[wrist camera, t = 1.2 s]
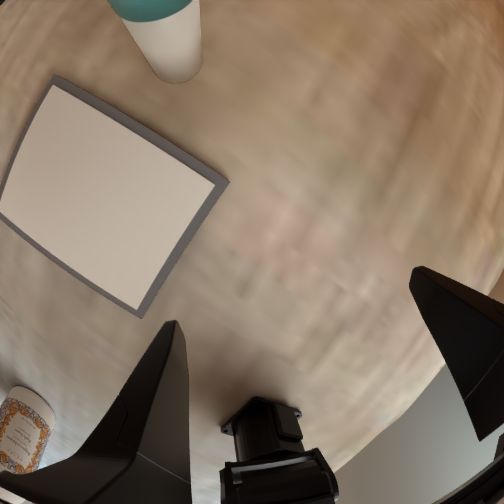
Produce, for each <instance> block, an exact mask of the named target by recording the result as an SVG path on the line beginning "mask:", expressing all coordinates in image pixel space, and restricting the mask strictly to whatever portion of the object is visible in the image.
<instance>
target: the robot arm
mask: <svg viewBox="0 0 504 504" xmlns="http://www.w3.org/2000/svg"><path fill="white" fill-rule="evenodd" d="M409 289H410V291H411V293H412V296H413V298H414V300H415V302H416V304H417V306H418V309H419V311H420V313H421V315H422V318H423V320H424V322H425V324H426V325H427V327H428V329H429V331H430V333H431V335H432V336H433V338H434V340H435V342H436V344H437V346H438V348H439V350H440V352H441V354H442V356H443V358H444V360H445V362H446V364H447V366H448V368H449V370H450V372H451V374H452V376H453V378H454V380H455V383H456V385H457V387H458V389H459V391H460V394H461V396H462V399H463V401H464V404H465V406H466V408H467V411H468V413H469V416H470V419H471V421H472V424H473V426H474V429H475V432H476V434H477V437H478V440H479V441H480V442H481V441H482V440H483V439H485V438H486V437H487V436H489V435H490V434H491V433H492V432H494V431H495V430H496V429H497V428H499V427H500V426H501V425H502V424H503V423H504V304H502V303H500V302H498V301H496V300H494V299H491V298H490V297H488V296H486V295H484V294H482V293H480V292H478V291H476V290H474V289H472V288H470V287H468V286H466V285H463V284H461V283H459V282H457V281H455V280H453V279H451V278H449V277H446V276H444V275H442V274H440V273H438V272H435V271H433V270H431V269H429V268H427V267H424V266H418V267H415V268H414V269H413V270H412V274H411V278H410V282H409ZM256 401H257V402H256ZM301 417H302V413H301V411H299V410H295V409H292V408H289V407H286V406H283V405H280V404H277V403H274V402H271V401H268V400H265V399H262V398H259V397H254V398H252V399H251V400H250V401H249V402H248V403H247V404H246V405H245V406H244V407H243V408H241V409H240V410H239V411H238V412H237V413H236V414H235V415H234V416H233V417H232V418H231V419H230V420H229V421H228V422H227V423H225V424H224V425H223V426H222V427H221V432H222V433H224V434H227V435H231V436H233V437H234V444H235V452H236V459H237V462H225V468H224V469H222V470H220V471H219V472H220V483H221V504H335V502H336V501H337V500H338V496H339V491H338V485H337V481H336V478H335V475H334V473H333V471H332V470H331V468H330V467H329V465H328V463H327V462H326V460H325V459H324V457H323V455H322V454H321V452H320V450H319V449H318V448H314V449H312V450H309V451H305V450H304V447H303V444H302V441H301V440H302V439H303V435H302V432H301V429H300V426H299V424H298V421H297V420H298V419H299V418H301ZM190 483H191V476H190V450H189V374H188V364H187V354H186V343H185V337H184V334H183V332H182V330H181V327H180V325H179V323H178V321H177V320H172V321H166V322H165V323H164V324H163V326H162V327H161V329H160V330H159V332H158V333H157V335H156V336H155V338H154V339H153V341H152V343H151V344H150V346H149V347H148V349H147V350H146V352H145V353H144V355H143V356H142V358H141V360H140V361H139V363H138V364H137V366H136V367H135V369H134V370H133V372H132V374H131V375H130V377H129V378H128V380H127V382H126V383H125V385H124V386H123V388H122V389H121V391H120V393H119V395H118V396H117V397H116V399H115V401H114V402H113V404H112V405H111V407H110V408H109V410H108V411H107V413H106V414H105V416H104V417H103V419H102V420H101V421H100V423H99V424H98V425H97V427H96V428H95V429H94V431H93V432H92V433H91V434H90V436H89V437H88V438H87V440H86V441H85V442H84V444H83V445H82V446H81V447H80V449H79V450H78V451H77V452H76V453H75V454H73V455H72V456H71V457H69V458H67V459H65V460H62V461H60V462H57V463H55V464H52V465H49V466H47V467H44V468H41V469H39V470H36V471H33V472H30V473H26V474H14V473H12V472H9V471H7V470H3V471H1V472H0V487H1V488H3V489H5V490H7V491H9V492H11V493H13V494H15V495H17V496H19V497H21V498H23V499H26V500H28V501H30V502H32V503H33V504H192V493H191V484H190ZM0 504H12V503H10V502H8V501H6V500H4V499H1V498H0ZM432 504H504V433H503V434H502V435H501V436H499V440H498V445H497V449H496V453H495V457H494V461H493V462H492V463H490V464H489V465H488V466H487V467H485V468H484V469H483V470H482V471H480V472H479V473H478V474H476V475H475V476H474V477H472V478H471V479H470V480H468V481H467V482H465V483H464V484H462V485H461V486H459V487H458V488H456V489H455V490H453V491H452V492H450V493H449V494H447V495H446V496H444V497H442V498H441V499H439V500H437V501H436V502H434V503H432Z"/></svg>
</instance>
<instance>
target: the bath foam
mask: <svg viewBox="0 0 504 504" xmlns="http://www.w3.org/2000/svg"><path fill="white" fill-rule="evenodd" d="M54 424H55V415H54V413H53V411H52V409H51V408H50V406H49V405H48V404H47V403H46V402H45V401H44V400H43V399H42V398H41V397H40V396H38V395H37V394H36V393H34V392H32V391H31V390H29V389H27V388H24V387H20V386H16V387H13V388H12V389H11V391H10V392H9V394H8V395H7V397H6V399H5V400H4V402H3V403H2V405H1V407H0V472H1V471H3V470H7V471H9V472H12V473H14V474H26V473H30V472H33V471H36V470H38V467H39V464H40V461H41V458H42V455H43V453H44V450H45V447H46V445H47V442H48V439H49V437H50V434H51V431H52V429H53V426H54ZM0 498H1V499H4V500H6V501H8V502H10V503H12V504H21V503H22V502H24V501H25V500H26V499H23V498H21V497H19V496H17V495H15V494H13V493H11V492H9V491H7V490H5V489H3V488H1V487H0Z"/></svg>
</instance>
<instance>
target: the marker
mask: <svg viewBox="0 0 504 504" xmlns="http://www.w3.org/2000/svg"><path fill="white" fill-rule="evenodd" d="M107 1H108V2H109V4H110V5H111V7H112V8H113V10H114V11H115V13H116V14H117V15H118V16H119V17H120V18H121V20H122V21H123V23H124V24H125V26H126V28H127V29H128V31H129V32H130V34H131V35H132V37H133V39H134V40H135V42H136V43H137V45H138V47H139V48H140V50H141V51H142V53H143V54H144V56H145V58H146V59H147V61H148V62H149V64H150V66H151V67H152V69H153V70H154V72H155V74H156V75H157V76H158V77H159V78H160V79H161V80H163V81H165V82H167V83H182V82H185V81H187V80H189V79H191V78H192V77H194V76H195V75H196V74H197V73H198V71H199V70H200V68H201V65H202V45H201V27H200V5H199V0H107Z"/></svg>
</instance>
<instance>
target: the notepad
mask: <svg viewBox="0 0 504 504" xmlns="http://www.w3.org/2000/svg"><path fill="white" fill-rule="evenodd" d="M229 183H230V181H229V180H227V179H226V178H224V177H223V176H221V175H220V174H218V173H217V172H215V171H214V170H212V169H211V168H209V167H208V166H206V165H205V164H203V163H202V162H200V161H199V160H197V159H196V158H194V157H193V156H191V155H190V154H188V153H186V152H185V151H183V150H182V149H180V148H179V147H177V146H176V145H174V144H172V143H171V142H169V141H168V140H166V139H165V138H163V137H161V136H160V135H158V134H157V133H155V132H153V131H152V130H150V129H149V128H147V127H145V126H144V125H142V124H140V123H139V122H137V121H136V120H134V119H132V118H131V117H129V116H127V115H126V114H124V113H122V112H121V111H119V110H117V109H116V108H114V107H112V106H110V105H109V104H107V103H105V102H104V101H102V100H100V99H98V98H97V97H95V96H93V95H91V94H90V93H88V92H86V91H84V90H83V89H81V88H79V87H77V86H75V85H74V84H72V83H70V82H68V81H66V80H65V79H63V78H61V77H59V76H57V75H55V74H54V76H53V77H52V79H51V81H50V82H49V84H48V85H47V87H46V89H45V90H44V92H43V94H42V96H41V97H40V99H39V101H38V103H37V104H36V106H35V108H34V110H33V112H32V114H31V116H30V118H29V120H28V122H27V124H26V126H25V128H24V130H23V132H22V134H21V136H20V139H19V141H18V143H17V145H16V148H15V150H14V152H13V155H12V157H11V160H10V162H9V165H8V168H7V170H6V173H5V176H4V179H3V182H2V185H1V188H0V219H1V220H2V221H3V222H5V223H6V224H7V225H8V226H9V227H10V228H12V229H13V230H14V231H15V232H16V233H17V234H19V235H20V236H21V237H22V238H23V239H25V240H26V241H27V242H28V243H30V244H31V245H32V246H33V247H35V248H36V249H37V250H39V251H40V252H41V253H42V254H44V255H45V256H46V257H48V258H49V259H50V260H52V261H53V262H54V263H56V264H57V265H59V266H60V267H61V268H63V269H64V270H66V271H67V272H68V273H70V274H71V275H73V276H74V277H76V278H77V279H78V280H80V281H81V282H83V283H84V284H86V285H87V286H89V287H90V288H92V289H93V290H95V291H96V292H98V293H99V294H101V295H103V296H104V297H106V298H107V299H109V300H111V301H112V302H114V303H115V304H117V305H119V306H120V307H122V308H124V309H125V310H127V311H129V312H130V313H132V314H134V315H135V316H137V317H139V318H141V319H142V318H143V316H144V315H145V313H146V311H147V310H148V308H149V306H150V304H151V303H152V301H153V299H154V298H155V296H156V295H157V293H158V291H159V290H160V288H161V286H162V285H163V283H164V281H165V280H166V278H167V277H168V275H169V273H170V272H171V270H172V269H173V267H174V265H175V264H176V262H177V261H178V259H179V258H180V256H181V254H182V253H183V251H184V250H185V248H186V247H187V245H188V244H189V242H190V240H191V239H192V237H193V236H194V234H195V233H196V231H197V230H198V228H199V227H200V225H201V224H202V222H203V221H204V219H205V218H206V216H207V215H208V213H209V212H210V210H211V209H212V208H213V206H214V205H215V203H216V202H217V200H218V199H219V197H220V196H221V195H222V193H223V192H224V190H225V189H226V187H227V186H228V185H229Z"/></svg>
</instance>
